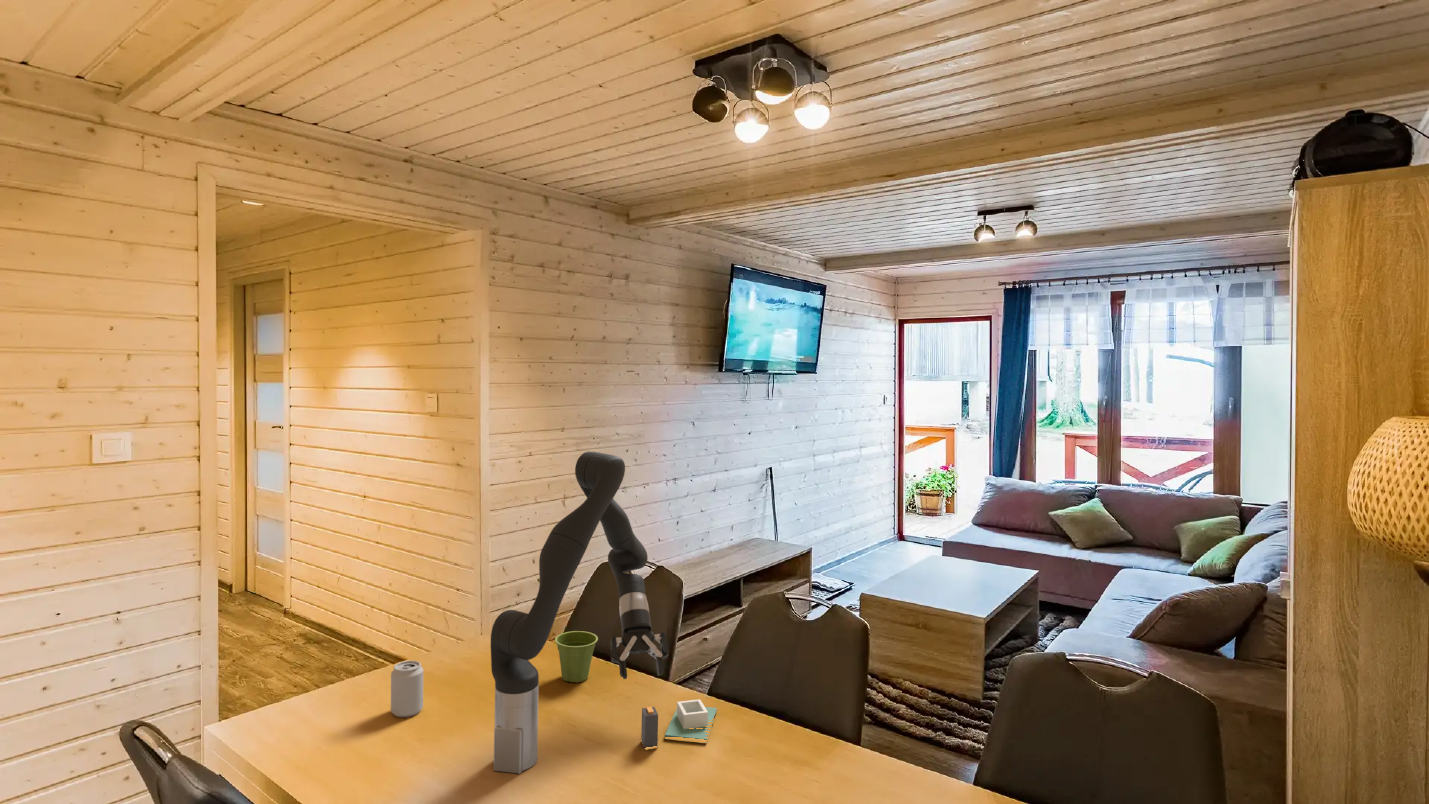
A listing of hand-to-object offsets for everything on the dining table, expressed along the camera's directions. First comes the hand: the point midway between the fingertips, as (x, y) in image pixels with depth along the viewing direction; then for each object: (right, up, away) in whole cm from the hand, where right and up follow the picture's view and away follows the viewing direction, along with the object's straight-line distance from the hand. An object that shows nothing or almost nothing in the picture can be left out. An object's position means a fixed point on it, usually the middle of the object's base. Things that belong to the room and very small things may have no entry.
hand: (642, 676), depth 177 cm
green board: (+12, -13, +2) cm, 18 cm away
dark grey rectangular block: (+2, -13, -8) cm, 15 cm away
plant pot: (-22, -11, +27) cm, 36 cm away
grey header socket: (+12, -12, +2) cm, 17 cm away
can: (-59, -11, +5) cm, 61 cm away
